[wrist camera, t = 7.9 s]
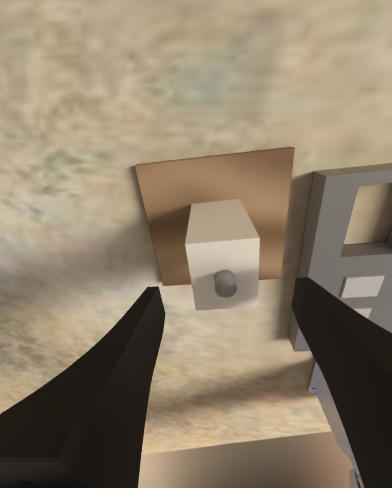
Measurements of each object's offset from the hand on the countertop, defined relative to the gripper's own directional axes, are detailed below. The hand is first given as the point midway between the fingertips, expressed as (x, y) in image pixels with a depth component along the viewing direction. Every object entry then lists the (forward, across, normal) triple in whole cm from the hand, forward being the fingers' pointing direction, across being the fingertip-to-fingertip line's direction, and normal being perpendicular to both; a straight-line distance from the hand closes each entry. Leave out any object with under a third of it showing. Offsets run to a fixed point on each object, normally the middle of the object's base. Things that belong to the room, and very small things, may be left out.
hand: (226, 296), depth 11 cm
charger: (+8, 0, 0) cm, 9 cm away
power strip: (+9, -13, +6) cm, 17 cm away
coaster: (+9, 0, 0) cm, 9 cm away
